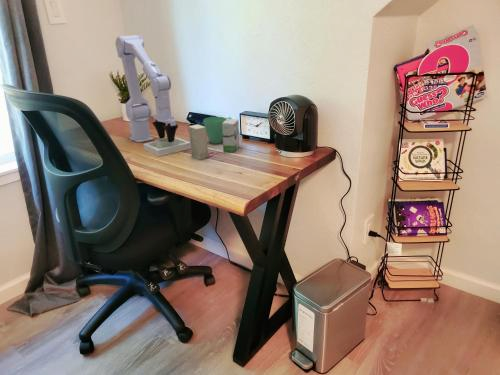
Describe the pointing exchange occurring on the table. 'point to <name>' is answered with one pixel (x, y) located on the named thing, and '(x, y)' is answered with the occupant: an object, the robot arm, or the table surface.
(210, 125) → the mug
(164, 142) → the small crate
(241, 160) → the table surface
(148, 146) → the white square tray
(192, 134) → the skincare box
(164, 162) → the table surface
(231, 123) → the ink box
